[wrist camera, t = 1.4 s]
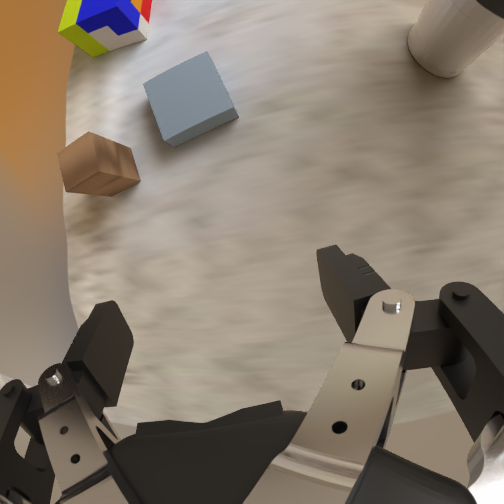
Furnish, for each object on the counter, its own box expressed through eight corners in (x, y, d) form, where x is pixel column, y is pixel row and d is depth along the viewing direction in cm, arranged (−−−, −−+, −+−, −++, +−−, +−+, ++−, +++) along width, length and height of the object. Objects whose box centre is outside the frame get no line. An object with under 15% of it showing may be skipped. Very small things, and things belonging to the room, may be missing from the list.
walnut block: (102, 164, 39) (57, 153, 29) (130, 148, 39) (88, 131, 29) (111, 196, 40) (66, 192, 30) (140, 180, 39) (98, 171, 29)
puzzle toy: (147, 39, 37) (116, 6, 27) (93, 57, 38) (57, 32, 28) (152, -4, 36) (127, -38, 26) (101, 14, 37) (71, -13, 27)
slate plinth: (155, 94, 38) (143, 83, 34) (214, 64, 36) (206, 51, 32) (175, 148, 38) (163, 141, 34) (239, 117, 37) (233, 107, 33)
